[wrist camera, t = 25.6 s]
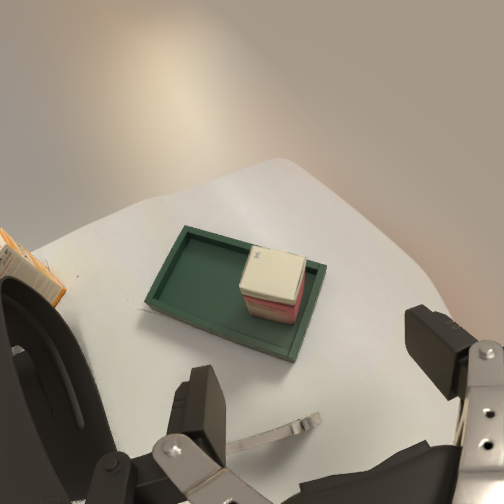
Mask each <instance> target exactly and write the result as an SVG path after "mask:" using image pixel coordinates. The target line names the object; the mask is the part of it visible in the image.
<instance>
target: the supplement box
mask: <svg viewBox="0 0 504 504" xmlns="http://www.w3.org/2000/svg"><path fill="white" fill-rule="evenodd" d="M8 275H9V276H13V277H16V278H18V279H20V280H21V281H23V282H25V283H26V284H28V285H29V286H31V287H32V288H33V289H35V290H36V291H37V292H38V293H40V294H41V295H42V296H43V297H44V298H45V299H46V300H47V301H48V302H49V303H50V304H51V305H52V306H53V307H55V305H56V304H57V302H58V301H59V300H60V298H61V297H62V295H63V294H64V293H65V291H66V289H65V288H64V287H63V286H62V285H61V284H60V283H59V282H58V281H57V280H56V279H55V278H54V277H53V275H52V274H51V273H50V272H49V271H48V269H47V268H46V267H45V265H44V264H43V263H42V262H40V261H39V260H38V259H37V258H36V257H34V256H33V255H32V254H31V253H29V252H28V251H27V250H26V249H25V248H24V247H22V246H21V245H20V244H19V243H18V242H17V241H16V240H14V239H13V238H12V237H11V236H10V235H9V234H8V233H6V232H5V231H4V230H3V229H2V228H1V227H0V279H1V278H3V277H4V276H8Z"/></svg>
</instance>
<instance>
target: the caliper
mask: <svg viewBox="0 0 504 504" xmlns="http://www.w3.org/2000/svg"><path fill="white" fill-rule="evenodd" d="M321 423H322V419H321V417H320V414H319V413H318V412H316V413H314V414H311V415H310V416H308V417H306V418H304V419H301V420H300V419H298V420H296V421H294V422H291V423H289V424H287V425H284V426H282V427H279V428H276V429H273V430H270V431H267V432H264V433H261V434H258V435H255V436H252V437H249V438H246V439H243V440H239V441H236V442H232V443H229V444H226V455H228V454H232V453H236V452H239V451H243V450H247V449H251V448H254V447H258V446H261V445H264V444H267V443H270V442H274V441H277V440H280V439H283V438H285V437H288V436H291V435H293V434H295V435H296V434H299V433H301V432H303V431H304V430H310V429H311V428H313V427H315V426H318V425H319V424H321Z"/></svg>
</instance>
